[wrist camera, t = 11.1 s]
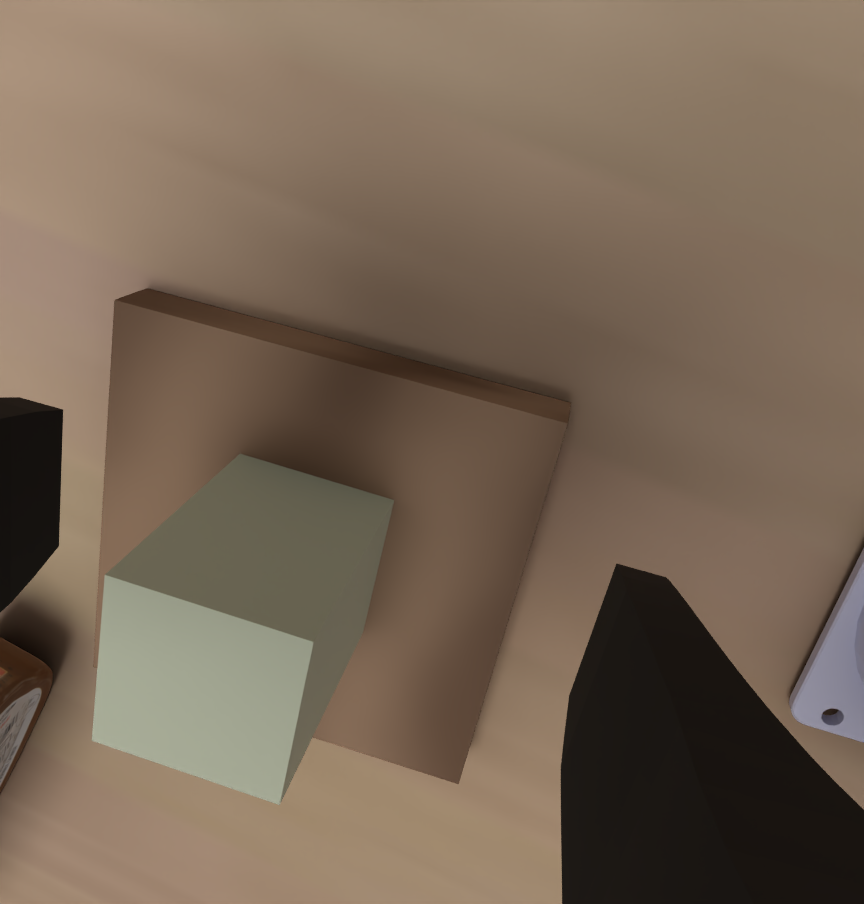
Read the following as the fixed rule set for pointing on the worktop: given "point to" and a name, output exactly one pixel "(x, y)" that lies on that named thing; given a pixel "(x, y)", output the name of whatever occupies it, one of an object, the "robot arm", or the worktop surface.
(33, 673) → the tin
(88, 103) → the worktop surface
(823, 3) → the worktop surface
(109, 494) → the base
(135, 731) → the block
